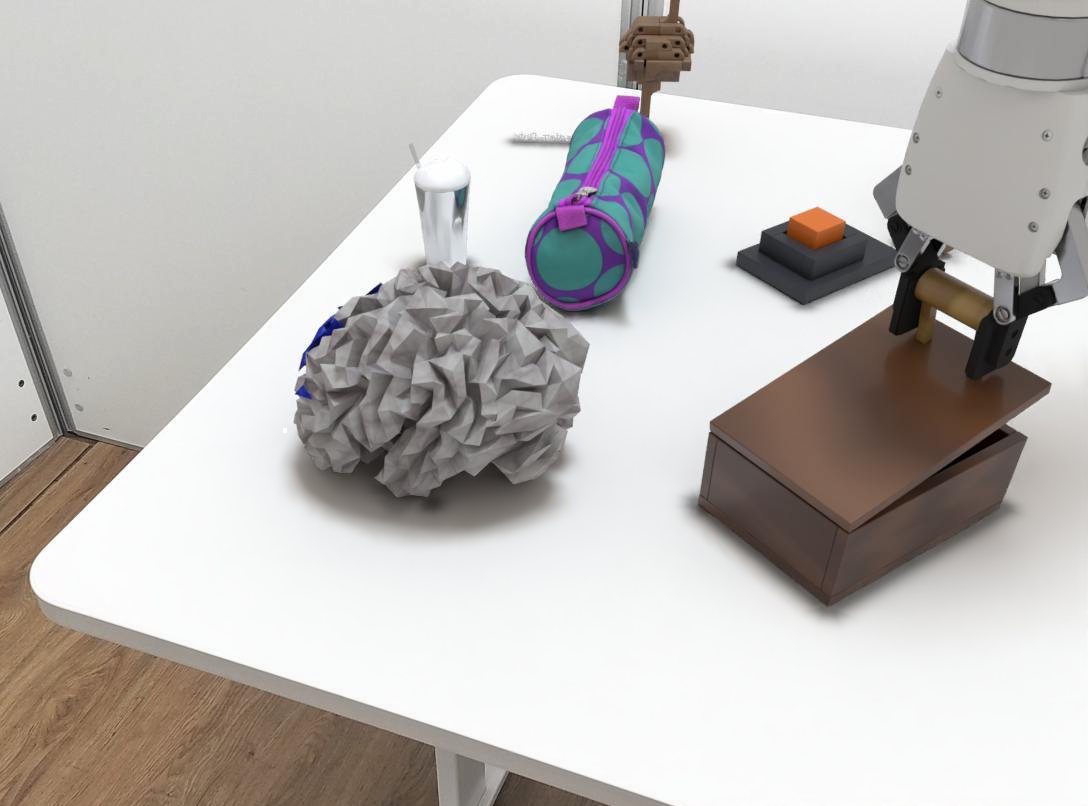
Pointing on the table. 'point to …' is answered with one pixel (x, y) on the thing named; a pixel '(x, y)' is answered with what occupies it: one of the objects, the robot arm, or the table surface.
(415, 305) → the educational model
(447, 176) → the milkshake
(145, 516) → the table surface
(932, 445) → the case lid
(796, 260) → the push button base
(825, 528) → the brown wooden case body
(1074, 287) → the robot arm
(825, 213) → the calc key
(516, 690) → the table surface
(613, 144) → the pencil case
